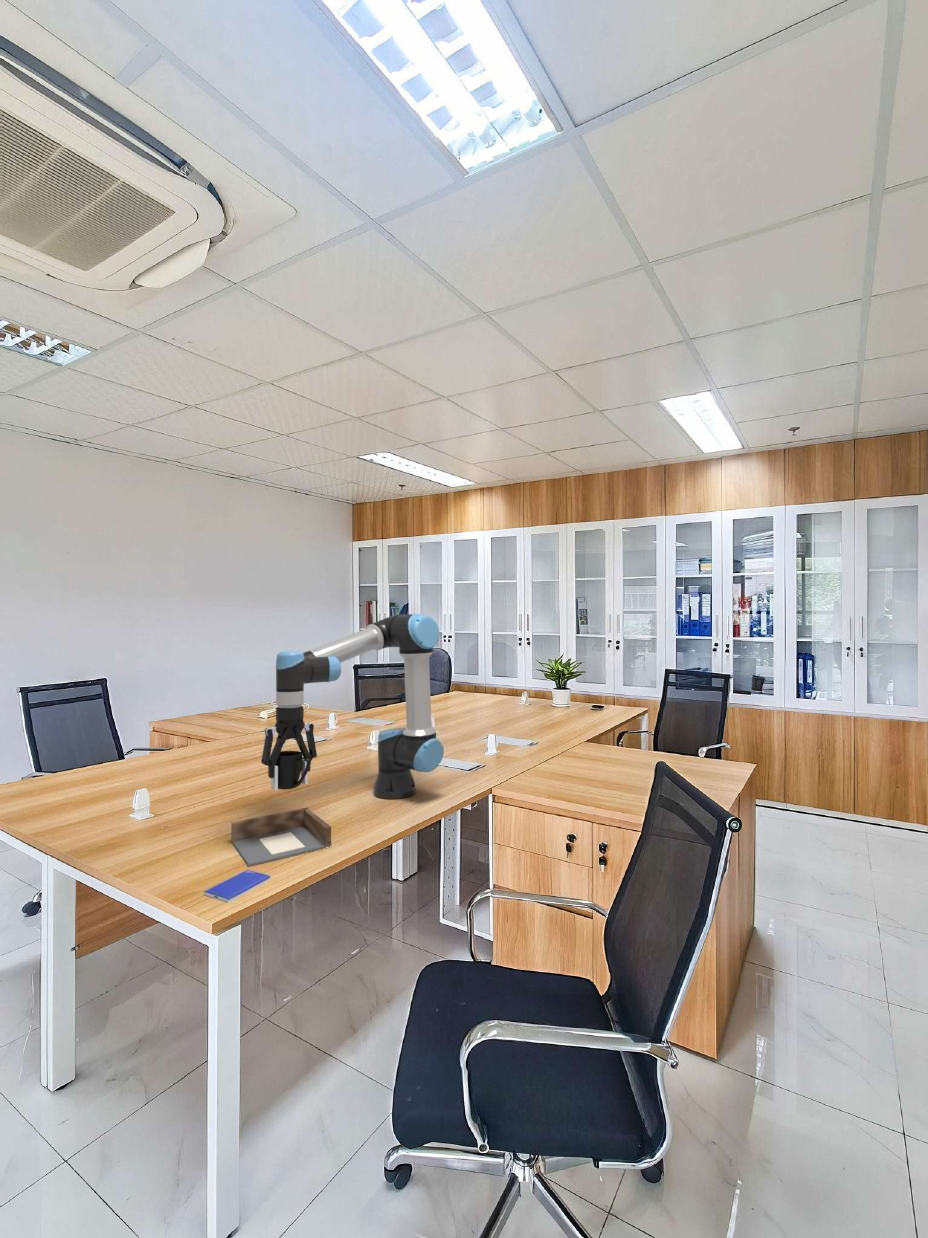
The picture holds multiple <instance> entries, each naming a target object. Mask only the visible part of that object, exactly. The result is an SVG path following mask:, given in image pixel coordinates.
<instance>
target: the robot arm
mask: <svg viewBox="0 0 928 1238" xmlns="http://www.w3.org/2000/svg"><path fill="white" fill-rule="evenodd" d="M439 640H440V629H439V626H438V623H437V622H436V620H434V618H433V617H431V616H430V615H428V614H422V613H414V614H413V613H412V614H410V613H409V614H394V615H391V616H388V617H385V618H383V619H380V620H377V621H375V622H373V623H369V624H368V625H367V626H366V627H365V629H362V630H360V631H357V632H354V633H351V634H349V635H346V636H344V637H341V638H338V639H335V640H333V641H331V642H328V643H325V644H323V645H319V646H318V647H314V648H312V649H310V650H307V651H301V650H297V651H294V650H293V651H291V650H290V651H285V650H284V651H280V652H278V653H277V655H276V659H275V660H276V661H275V690H276V691H275V705H276V706H277V707H276V708H275V721H276V722H275V725H274V726H273V727H270V728H268V727H266V728H265V729H264V735H265V739H264V744H263V750H262V755H261V760H260V761H261V762H260V763H261V764H262V765H264V766H268V767H267V776H268V778H269V779H270V781H271V782H270V785H271V786H270V788H271V789H272V790H273V791H278V790H279V789H278V766H276V765H275V764H276V761H277V759H278V757H279V754H280V752H281V751H282V749H283V747H284V744H285V743H286V742H287V741H288V740H289V741H290V740H291V739H293V740H294V741H296V744H297V746H298V749H299V752H302V757H306V758H310V759H311V762H312V761H313V759H314V758H317V757H318V753H317V748H316V741H315V735H314V730H315V729H314V728H315V724H314V723H311V722H307V723H305V722H304V716H305V715H304V713H305V712H304V711H305V710H304V709H305V708H304V707H305V706H303V704H304V703H305V701H304V699H305V698H304V697H305V695H304V689H305V688H304V686H305V685H304V684H314V683H316V684H317V683H330V682H335V681H337V680H339V678H340V676H341V674H342V665H341V663H343V662H346V661H349V660H351V659H353V658H355V657H358V656H360V655H363V654H366V653H368V652H370V651H373V650H375V651H380V650H383V649H386V648H387V649H388V648H398V650H399V656H401V657H402V658H403V663H404V664H403V665H404V687H405V688H404V691H405V715H406V718H405V719H406V727H400V728H390V729H385V730H382V731H380V732H379V733H378V735H377V736H378V737H377V739H378V740H377V756H378V758H377V761H378V764H377V765H378V772H377V777H376V778H375V782H374V785H373V795H374V796H375V797H377V798H380V799H385V800H397V799H405V798H410V797H411V796H413V795H415V794H416V793H417V791H416V787H417V786H416V783H415V780H414V776H413V774H412V771H416V772H419V773H431V772H432V771H435V770H436V769H437V768H438V767H439V766H440V764H441V762H442V760H443V758H444V755H445V752H444V750H445V749H444V745H443V743H442V742H441V740H439V739H438V738H437V730H436V729H435V728H434V727H433V726H432V708H431V707H432V706H431V704H432V703H431V702H432V701H431V678H430V677H431V676H430V675H431V674H430V657H431V656H432V654H434V647H436V645H437V644H438V642H439ZM303 730H304V731H305V736H306V742H307V745H306V743H305V741H304V737H303V735H302V732H303ZM276 733H277V737H276V740H275V741H276V742H275V743H274V746H273V742H274V736H275V734H276ZM272 747H273V749H272ZM306 765H307V761H306V760H304V759H302V768H301V773H300V778H301V777H302V775H303V773H304V771H305V768H306ZM411 770H412V771H411ZM309 772H311V767H310V768H309V770H308V772H307V774H306V776H305V778H304V780H303V781H302V783H301V784H303V785H308V782H309V780H308V778H309V777H308V776H309V775H308V774H309Z"/></svg>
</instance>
